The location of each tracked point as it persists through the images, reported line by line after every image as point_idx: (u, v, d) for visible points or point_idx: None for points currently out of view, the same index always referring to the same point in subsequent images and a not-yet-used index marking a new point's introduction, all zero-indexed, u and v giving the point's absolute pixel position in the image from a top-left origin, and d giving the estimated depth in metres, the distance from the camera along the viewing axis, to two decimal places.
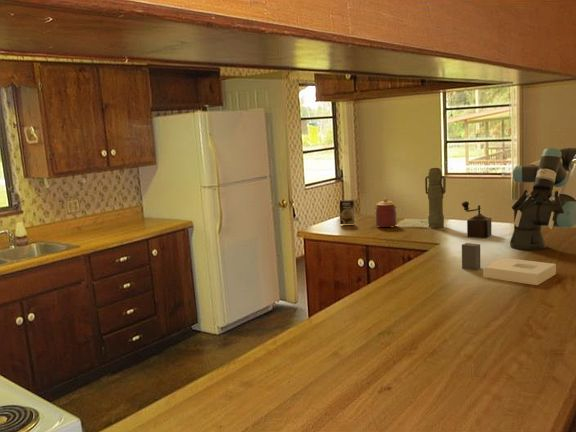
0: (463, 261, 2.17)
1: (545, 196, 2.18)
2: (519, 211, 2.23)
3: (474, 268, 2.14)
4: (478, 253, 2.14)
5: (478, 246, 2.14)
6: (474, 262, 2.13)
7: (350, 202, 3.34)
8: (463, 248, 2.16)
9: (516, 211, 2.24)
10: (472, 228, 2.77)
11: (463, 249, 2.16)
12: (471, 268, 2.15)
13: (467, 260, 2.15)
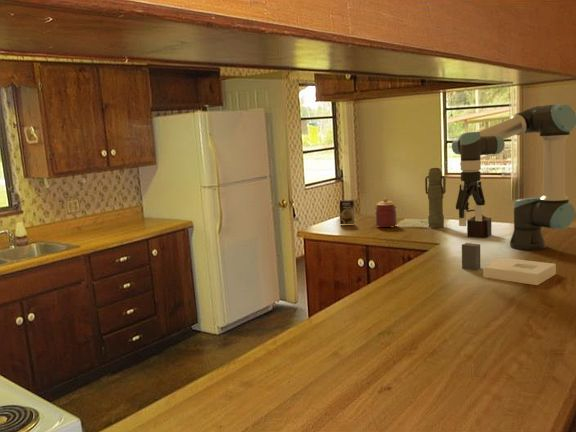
0: (463, 261, 2.17)
1: None
2: (475, 206, 2.18)
3: (474, 268, 2.14)
4: (478, 253, 2.14)
5: (478, 246, 2.14)
6: (474, 262, 2.13)
7: (350, 202, 3.34)
8: (463, 248, 2.16)
9: None
10: (472, 228, 2.77)
11: (463, 249, 2.16)
12: (471, 268, 2.15)
13: (467, 260, 2.15)
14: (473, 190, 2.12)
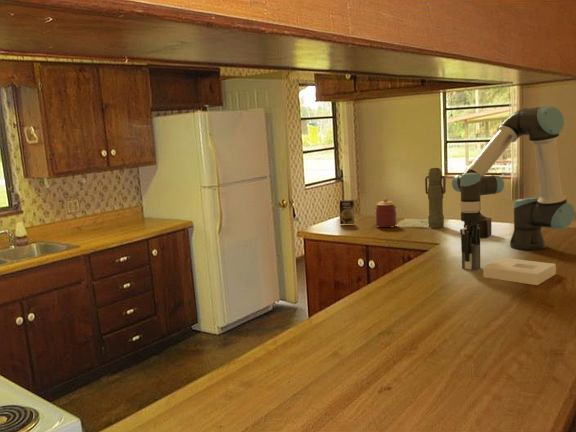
0: (463, 261, 2.17)
1: None
2: None
3: (474, 268, 2.14)
4: (478, 253, 2.14)
5: (478, 246, 2.14)
6: (474, 262, 2.13)
7: (350, 202, 3.34)
8: None
9: None
10: None
11: None
12: None
13: None
14: (473, 230, 2.14)
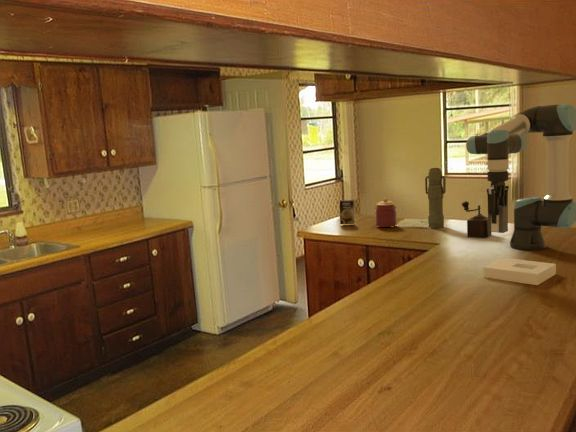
0: (489, 224, 2.06)
1: None
2: None
3: (501, 231, 2.03)
4: (505, 215, 2.03)
5: (505, 207, 2.02)
6: (501, 224, 2.02)
7: (350, 202, 3.34)
8: None
9: None
10: (472, 228, 2.77)
11: None
12: None
13: None
14: (500, 190, 2.03)
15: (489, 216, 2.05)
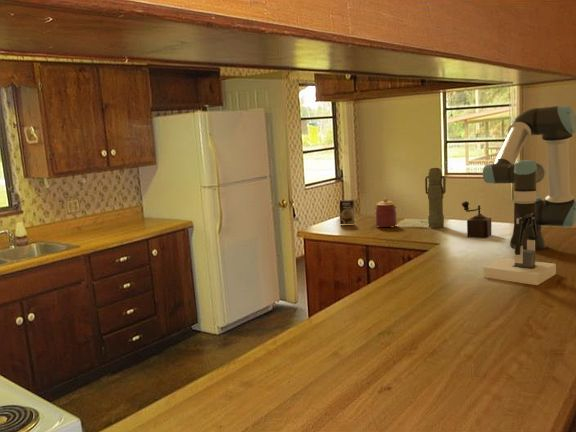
0: None
1: None
2: (527, 241, 2.03)
3: None
4: (533, 260, 1.98)
5: (533, 253, 1.97)
6: None
7: (350, 202, 3.34)
8: None
9: None
10: (472, 228, 2.77)
11: None
12: None
13: (521, 267, 1.99)
14: (528, 222, 1.97)
15: None
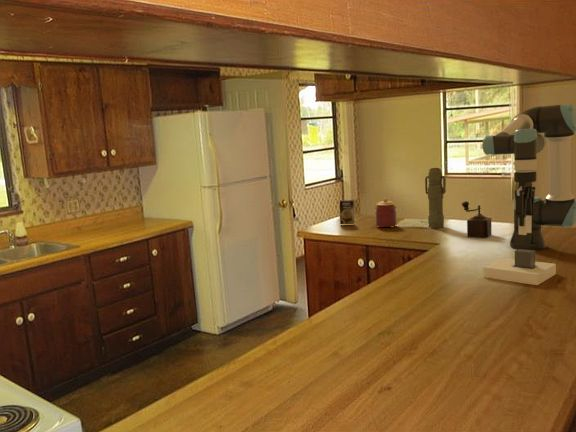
0: None
1: None
2: None
3: None
4: (533, 260, 1.98)
5: (533, 253, 1.97)
6: None
7: (350, 202, 3.34)
8: (516, 255, 2.00)
9: None
10: (472, 228, 2.77)
11: (516, 256, 2.00)
12: None
13: (521, 267, 1.99)
14: None
15: (516, 261, 2.00)
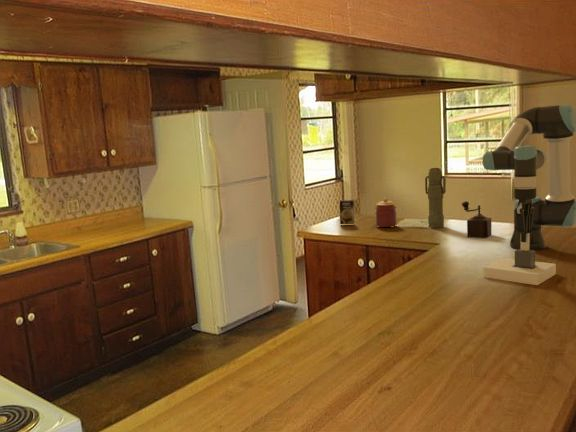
0: None
1: None
2: None
3: None
4: (533, 260, 1.98)
5: (533, 253, 1.97)
6: None
7: (350, 202, 3.34)
8: (516, 255, 2.00)
9: None
10: (472, 228, 2.77)
11: (516, 256, 2.00)
12: None
13: (521, 267, 1.99)
14: None
15: (516, 261, 2.00)
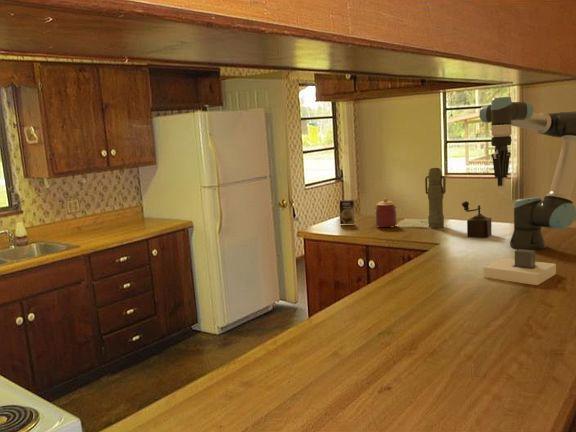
0: None
1: None
2: None
3: None
4: (533, 260, 1.98)
5: (533, 253, 1.97)
6: None
7: (350, 202, 3.34)
8: (516, 255, 2.00)
9: None
10: (472, 228, 2.77)
11: (516, 256, 2.00)
12: None
13: (521, 267, 1.99)
14: None
15: (516, 261, 2.00)
